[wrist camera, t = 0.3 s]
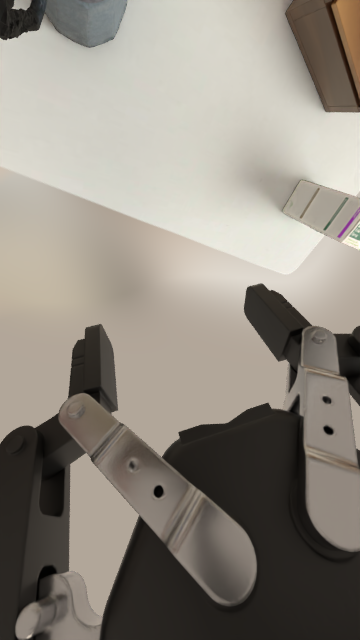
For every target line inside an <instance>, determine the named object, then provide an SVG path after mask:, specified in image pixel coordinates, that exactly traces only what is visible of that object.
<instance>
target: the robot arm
mask: <svg viewBox="0 0 360 640" xmlns="http://www.w3.org/2000/svg"><path fill="white" fill-rule="evenodd" d="M244 312H245V315H246V317H247V319H248V320H249V322H250V323H251V324H252V326H253V327H254V328H255V330H256V331H257V332H258V334H259V335H260V337H261V338H262V339H263V341H264V342H265V344H266V345H267V346H268V348H269V349H270V351H271V352H272V353H273V354H274V356H275V357H276V359H277V360H278V361H283V360H286V359H287V361H288V362H289V364H288V373H287V385H286V396H285V401H284V405H283V409H282V410H281V409H271V407H270V405H269V403H266V404H263V405H259V406H256V407H253V408H250V409H248V410H246V411H244V412H243V413H241V414H240V415H239V416H237V417H236V418H234V419H233V420H232V421H230V422H229V423H225V424H206V425H199V426H196V427H193V428H190V429H187V430H184V431H181V432H179V436H180V438H179V439H178V440H177V441H175V442H174V443H173V444H172V445H171V446H170V447H169V448H168V449H167V450H166V451H165V453H164V455H163V456H162V457H161V456H159V455H158V454H157V453H156V452H155V451H154V450H153V449H152V448H151V447H149V446H148V445H147V444H146V443H145V442H144V441H143V440H142V439H140V438H139V437H138V436H137V435H136V434H135V433H134V432H132V431H131V430H130V429H129V428H128V427H127V426H125V425H124V424H122V423H120V422H119V421H118V420H117V419H115V418H114V417H113V416H112V414H111V412H114V411H117V410H118V404H117V392H116V378H115V365H114V353H113V348H112V345H111V342H110V340H109V338H108V336H107V334H106V332H105V330H104V328H103V326H102V325H101V324H99V325H95V326H91V327H87V328H86V329H85V339H81V340H78V341H77V343H76V345H75V346H74V348H73V352H72V364H71V366H72V368H71V375H70V386H69V396H68V399H67V400H66V401H65V402H64V404H63V405H62V406H61V408H60V410H59V413H58V414H56V415H55V416H54V417H52V418H51V419H49V420H48V421H46V422H44V423H43V424H41V425H40V426H38V427H36V428H33V427H32V426H22V427H19V428H17V429H15V430H13V431H12V432H10V433H9V434H8V435H7V436H6V437H5V438H4V439H3V441H2V442H1V444H0V640H360V450H358V449H356V446H355V437H354V429H353V420H352V413H351V404H350V397H349V393H350V395H351V396H352V397H353V398H354V399H355V400H356V402H357V403H358V404H359V406H360V326H358V327H356V328H355V329H354V331H353V332H352V334H332V332H330V331H329V330H327V329H325V328H323V327H319V326H312V325H311V324H310V323H309V322H308V321H307V320H306V319H305V318H304V317H303V316H302V315H301V314H300V313H299V312H298V311H297V310H296V309H295V308H294V307H292V305H291V304H290V303H289V302H287V300H286V299H285V298H284V297H283V296H282V295H281V294H279V293H277V292H275V291H273V290H271V291H269V290H268V289H267V288H266V287H265V286H264V285H263V284H257V285H253V286H249V287H248V288H247V290H246V298H245V304H244ZM85 453H87V454H88V455H89V456H90V458H91V461H92V462H93V463H94V464H95V466H96V467H97V468H98V469H99V470H100V471H101V472H102V474H103V475H104V476H105V477H106V478H107V479H108V480H109V481H110V482H111V484H112V485H113V486H114V487H115V488H116V489H117V490H118V492H119V493H120V494H121V495H122V496H123V497H124V498H125V499H126V500H127V502H128V503H129V504H130V505H131V506H132V507H133V508H134V509H135V511H136V512H137V513H138V514H139V517H138V520H137V522H136V525H135V528H134V530H133V533H132V536H131V539H130V541H129V544H128V547H127V549H126V552H125V555H124V557H123V560H122V563H121V565H120V568H119V571H118V573H117V576H116V579H115V582H114V584H113V587H112V590H111V592H110V595H109V598H108V600H107V603H106V607H105V611H104V614H103V617H102V616H99V615H97V614H96V613H95V612H94V611H93V610H92V608H91V606H90V604H89V601H88V597H87V590H86V585H85V582H84V579H83V578H82V576H81V575H80V574H78V573H76V572H74V571H69V517H70V515H69V512H70V464H71V463H72V462H74V461H75V460H77V459H78V458H79V457H81V456H82V455H84V454H85Z"/></svg>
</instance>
